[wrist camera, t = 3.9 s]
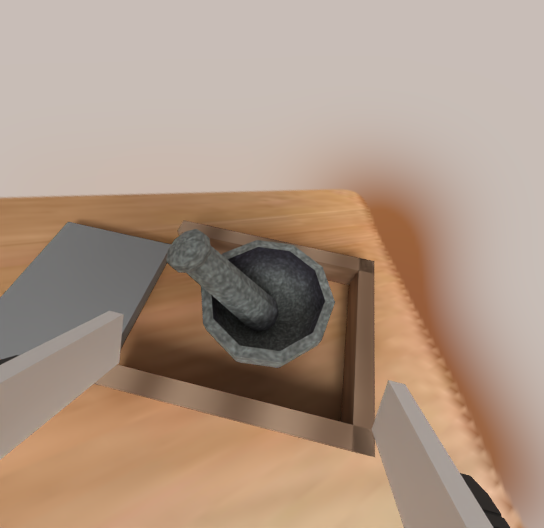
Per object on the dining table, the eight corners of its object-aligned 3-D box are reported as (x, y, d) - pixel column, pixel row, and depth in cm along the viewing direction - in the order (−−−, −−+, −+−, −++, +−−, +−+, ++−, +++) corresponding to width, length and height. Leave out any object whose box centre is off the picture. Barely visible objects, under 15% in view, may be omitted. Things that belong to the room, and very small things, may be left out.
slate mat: (-33, 350, 21) (-45, 347, 21) (73, 227, 29) (68, 221, 28) (100, 385, 21) (94, 383, 20) (173, 250, 28) (171, 244, 27)
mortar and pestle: (316, 288, 27) (355, 204, 17) (313, 385, 22) (367, 348, 12) (210, 274, 27) (186, 182, 17) (183, 367, 22) (124, 315, 12)
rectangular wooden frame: (112, 388, 21) (92, 382, 18) (189, 238, 29) (183, 220, 27) (358, 453, 19) (374, 457, 17) (363, 276, 28) (374, 261, 25)
